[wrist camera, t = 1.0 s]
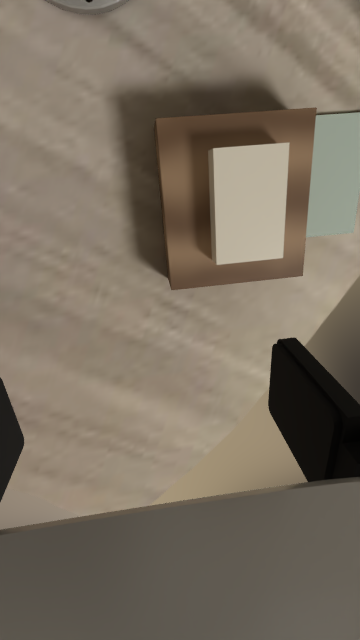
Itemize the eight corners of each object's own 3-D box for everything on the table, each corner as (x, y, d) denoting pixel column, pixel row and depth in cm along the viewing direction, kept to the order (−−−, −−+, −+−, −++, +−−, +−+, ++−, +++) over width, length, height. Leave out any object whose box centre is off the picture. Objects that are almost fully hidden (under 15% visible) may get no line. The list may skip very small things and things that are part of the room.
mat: (296, 117, 29) (298, 116, 29) (368, 112, 29) (370, 111, 29) (289, 238, 33) (290, 238, 33) (351, 232, 34) (353, 232, 34)
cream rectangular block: (208, 151, 26) (213, 148, 24) (279, 145, 26) (289, 142, 24) (211, 259, 29) (216, 264, 27) (274, 253, 30) (282, 258, 28)
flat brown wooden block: (153, 127, 28) (155, 118, 24) (294, 117, 29) (316, 107, 25) (168, 278, 34) (171, 290, 30) (285, 266, 35) (302, 275, 31)
